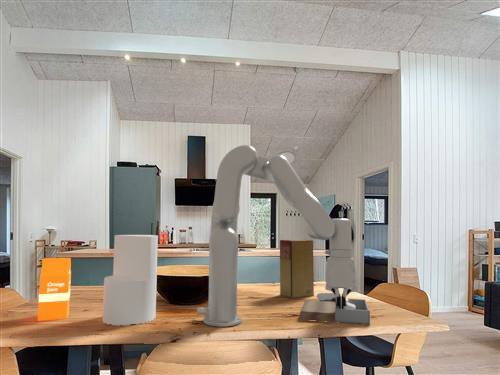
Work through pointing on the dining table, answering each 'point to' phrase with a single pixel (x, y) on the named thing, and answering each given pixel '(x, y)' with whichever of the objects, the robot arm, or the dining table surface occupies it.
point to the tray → (353, 313)
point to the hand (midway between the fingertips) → (341, 308)
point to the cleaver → (327, 297)
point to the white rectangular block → (350, 306)
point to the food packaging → (296, 268)
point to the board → (318, 311)
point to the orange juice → (54, 289)
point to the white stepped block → (131, 281)
